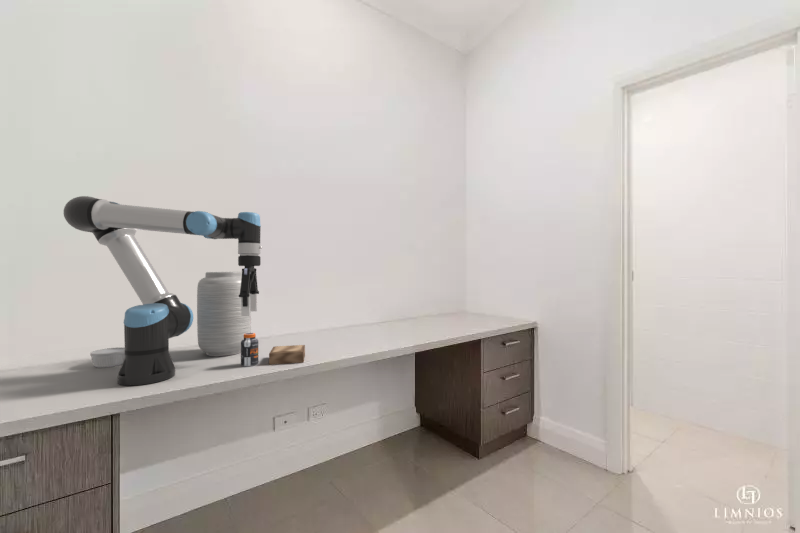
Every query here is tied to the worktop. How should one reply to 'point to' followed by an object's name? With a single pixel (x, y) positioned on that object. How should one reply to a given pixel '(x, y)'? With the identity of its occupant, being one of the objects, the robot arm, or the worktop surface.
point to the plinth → (287, 354)
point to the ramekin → (108, 357)
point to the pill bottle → (249, 350)
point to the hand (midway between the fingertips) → (249, 313)
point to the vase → (221, 314)
